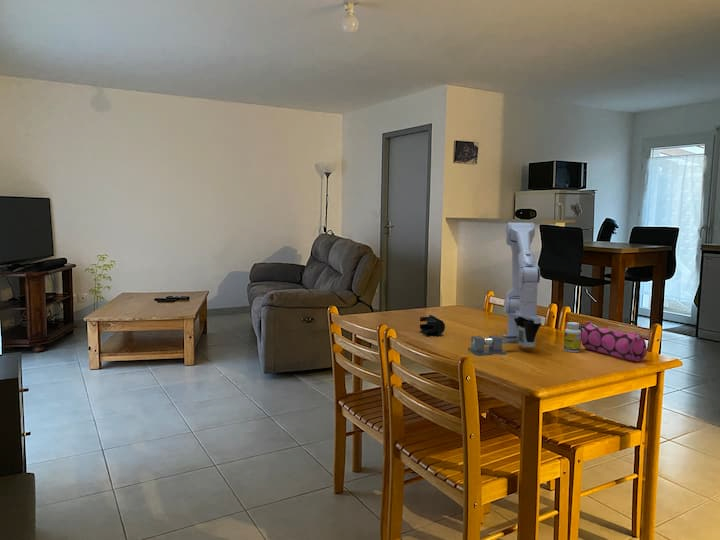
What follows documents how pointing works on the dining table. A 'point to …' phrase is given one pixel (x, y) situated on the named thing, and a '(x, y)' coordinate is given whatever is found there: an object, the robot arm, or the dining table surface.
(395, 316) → the dining table surface
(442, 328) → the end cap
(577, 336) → the supplement bottle
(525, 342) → the collar
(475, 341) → the shaft stand
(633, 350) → the pencil case
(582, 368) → the dining table surface
